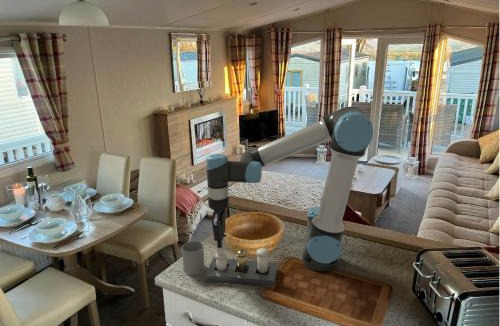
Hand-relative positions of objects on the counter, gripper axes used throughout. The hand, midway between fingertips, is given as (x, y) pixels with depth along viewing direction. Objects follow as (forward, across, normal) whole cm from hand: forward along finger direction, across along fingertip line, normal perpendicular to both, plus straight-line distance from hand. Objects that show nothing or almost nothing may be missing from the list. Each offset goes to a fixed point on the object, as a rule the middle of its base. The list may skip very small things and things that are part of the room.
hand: (220, 253), depth 142 cm
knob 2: (+6, 0, +16) cm, 17 cm away
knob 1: (+8, 0, 0) cm, 8 cm away
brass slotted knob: (+6, 0, +8) cm, 10 cm away
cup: (+9, -2, -12) cm, 15 cm away
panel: (+9, 0, +8) cm, 12 cm away
